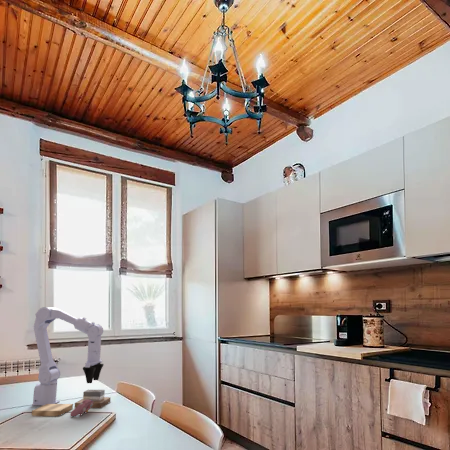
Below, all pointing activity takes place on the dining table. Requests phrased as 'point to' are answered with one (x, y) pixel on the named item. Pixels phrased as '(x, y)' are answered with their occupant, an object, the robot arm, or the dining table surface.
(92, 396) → the grey rectangular block
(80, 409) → the video game controller
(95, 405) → the walnut stand
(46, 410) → the oak stand
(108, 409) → the dining table surface
